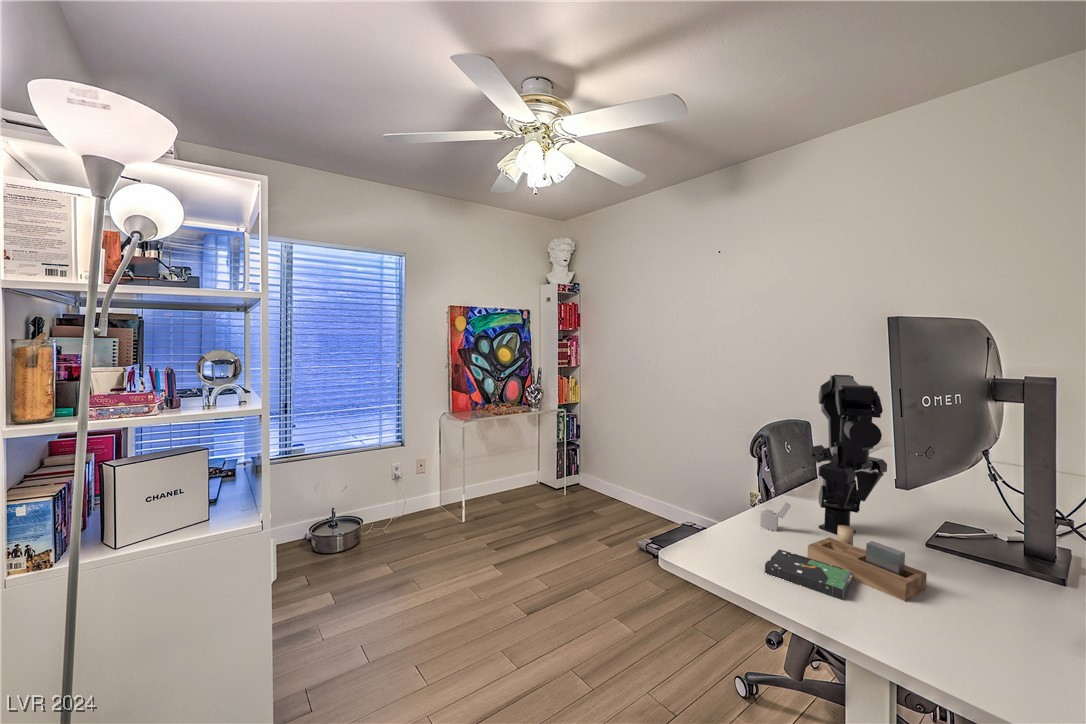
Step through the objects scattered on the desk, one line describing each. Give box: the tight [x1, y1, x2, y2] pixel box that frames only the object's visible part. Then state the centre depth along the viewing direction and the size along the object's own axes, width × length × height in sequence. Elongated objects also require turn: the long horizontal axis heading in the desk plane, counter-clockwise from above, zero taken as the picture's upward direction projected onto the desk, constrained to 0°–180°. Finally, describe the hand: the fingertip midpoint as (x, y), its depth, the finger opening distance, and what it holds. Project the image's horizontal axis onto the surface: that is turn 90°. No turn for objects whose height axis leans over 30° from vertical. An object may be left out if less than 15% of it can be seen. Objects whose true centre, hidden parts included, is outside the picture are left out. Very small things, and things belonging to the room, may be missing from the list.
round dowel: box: [836, 525, 855, 546], centre depth 107 cm, size 3×3×6 cm
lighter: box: [759, 501, 792, 532], centre depth 119 cm, size 7×2×8 cm, turn 57°
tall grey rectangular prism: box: [865, 540, 906, 577], centre depth 93 cm, size 2×6×8 cm, turn 28°
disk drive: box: [764, 548, 855, 601], centre depth 95 cm, size 10×3×15 cm
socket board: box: [807, 536, 928, 602], centre depth 97 cm, size 9×19×4 cm, turn 29°
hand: (851, 504), depth 104 cm, fingers open, 9 cm apart
